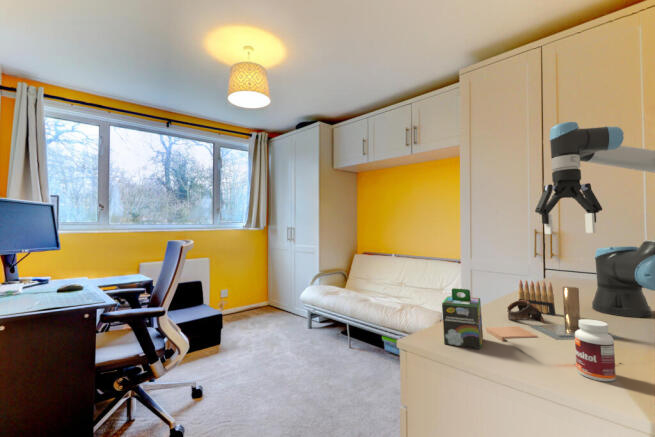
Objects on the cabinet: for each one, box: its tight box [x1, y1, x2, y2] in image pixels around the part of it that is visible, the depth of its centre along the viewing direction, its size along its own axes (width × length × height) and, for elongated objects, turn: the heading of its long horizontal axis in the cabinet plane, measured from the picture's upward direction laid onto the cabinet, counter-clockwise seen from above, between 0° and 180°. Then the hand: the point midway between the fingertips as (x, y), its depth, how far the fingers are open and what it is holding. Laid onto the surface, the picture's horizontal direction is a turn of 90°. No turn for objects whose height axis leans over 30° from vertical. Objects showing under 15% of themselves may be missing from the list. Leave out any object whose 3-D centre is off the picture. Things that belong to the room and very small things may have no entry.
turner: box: [539, 286, 610, 337], centre depth 87 cm, size 14×8×13 cm, turn 89°
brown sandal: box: [506, 299, 545, 324], centre depth 99 cm, size 12×10×8 cm
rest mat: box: [528, 324, 626, 341], centre depth 87 cm, size 18×12×1 cm, turn 89°
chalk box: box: [441, 288, 484, 351], centre depth 84 cm, size 9×9×15 cm
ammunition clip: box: [518, 279, 556, 317], centre depth 107 cm, size 11×2×12 cm, turn 44°
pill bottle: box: [574, 318, 617, 383], centre depth 63 cm, size 6×6×11 cm
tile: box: [485, 326, 538, 342], centre depth 87 cm, size 2×8×10 cm
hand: (569, 233), depth 100 cm, fingers open, 13 cm apart
